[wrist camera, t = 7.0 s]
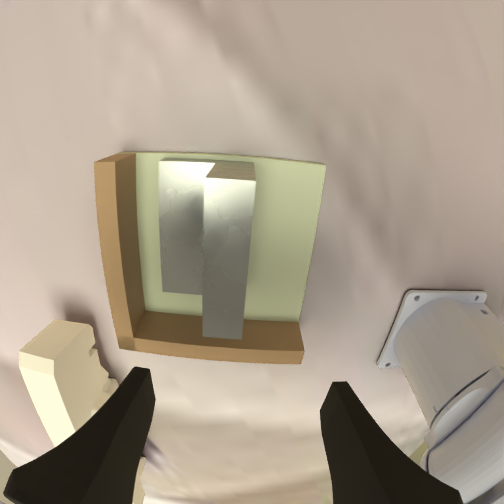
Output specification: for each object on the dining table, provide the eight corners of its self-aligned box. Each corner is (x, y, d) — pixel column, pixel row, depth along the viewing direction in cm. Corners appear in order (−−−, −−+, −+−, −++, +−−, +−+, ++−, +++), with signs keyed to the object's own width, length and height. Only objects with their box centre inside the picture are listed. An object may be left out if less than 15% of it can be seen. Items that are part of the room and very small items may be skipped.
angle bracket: (243, 288, 20) (241, 339, 15) (166, 282, 20) (146, 330, 15) (253, 162, 16) (255, 181, 12) (164, 157, 16) (133, 175, 12)
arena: (323, 163, 17) (341, 176, 14) (294, 329, 22) (300, 364, 19) (121, 152, 16) (94, 162, 13) (134, 316, 22) (119, 348, 18)
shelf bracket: (123, 454, 33) (98, 521, 20) (81, 290, 27) (4, 351, 14) (160, 460, 33) (142, 533, 20) (129, 294, 27) (63, 367, 15)
